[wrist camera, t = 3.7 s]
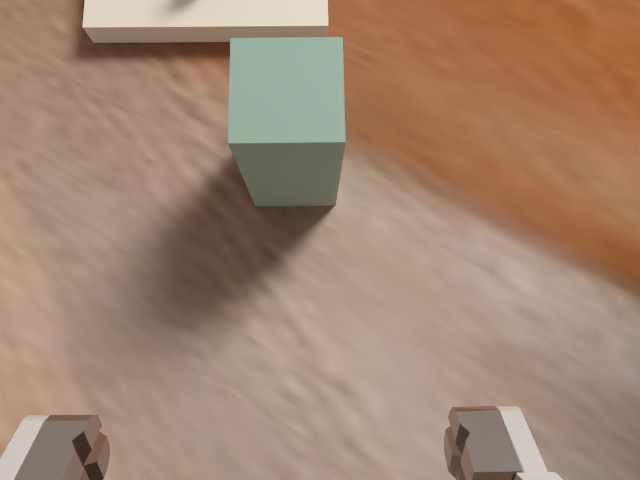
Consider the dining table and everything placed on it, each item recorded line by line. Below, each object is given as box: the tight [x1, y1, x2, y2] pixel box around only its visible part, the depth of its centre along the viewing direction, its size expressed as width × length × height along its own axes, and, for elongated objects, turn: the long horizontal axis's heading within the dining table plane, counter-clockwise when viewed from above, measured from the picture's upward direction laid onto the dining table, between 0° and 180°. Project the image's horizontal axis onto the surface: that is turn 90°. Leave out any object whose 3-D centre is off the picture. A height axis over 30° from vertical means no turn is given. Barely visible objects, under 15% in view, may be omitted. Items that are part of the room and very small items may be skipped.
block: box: [228, 37, 345, 206], centre depth 24 cm, size 4×4×9 cm
